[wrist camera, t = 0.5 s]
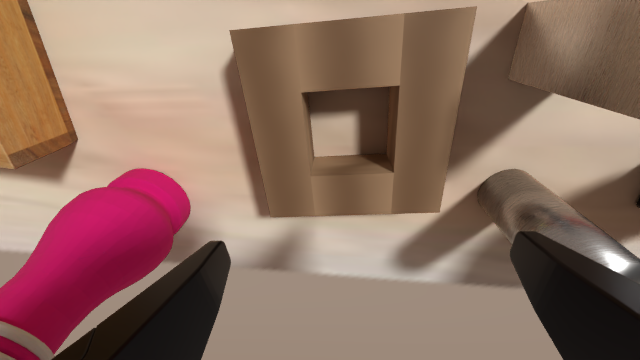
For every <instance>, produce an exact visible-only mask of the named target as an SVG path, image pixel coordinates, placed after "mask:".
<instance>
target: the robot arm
mask: <svg viewBox="0 0 640 360" xmlns="http://www.w3.org/2000/svg"><path fill="white" fill-rule="evenodd" d="M636 205H637V207H639V208H640V199H639V200H638V202H637V204H636ZM510 258H511V261H512V263H513V265H514V267H515V270H516V272H517V274H518V276H519V278H520V280H521V283H522V285H523V287H524V289H525V291H526V294H527V296H528V298H529V300H530V302H531V304H532V306H533V308H534V310H535V312H536V314H537V315H538V317H539V319H540V321H541V322H542V324H543V326H544V328H545V329H546V331H547V333H548V334H549V336H550V338H551V339H552V341H553V343H554V345H555V346H556V348H557V350H558V351H559V353H560V355H561V356H562V358H563V360H640V284H639V283H637V282H636V281H634V280H632V279H630V278H628V277H626V276H624V275H622V274H620V273H618V272H616V271H614V270H612V269H610V268H608V267H606V266H604V265H602V264H600V263H598V262H596V261H594V260H592V259H590V258H588V257H586V256H584V255H582V254H580V253H578V252H576V251H574V250H572V249H570V248H568V247H566V246H564V245H562V244H560V243H558V242H556V241H554V240H553V239H551V238H549V237H547V236H545V235H543V234H541V233H539V232H537V231H532V230H531V231H519V232H517V233H516V235H515V238H514V241H513V244H512V247H511V249H510ZM230 264H231V260H230V256H229V253H228V251H227V248H226V246H225V243H224V242H223V241H210V242H208V243H207V244H206V245H204V246H203V247H202V248H200V249H199V250H198V251H196V252H195V253H194V254H192V255H191V256H190V257H188V258H187V259H186V260H184V261H183V262H182V263H180V264H179V265H178V266H176V267H175V268H173V269H172V270H171V271H170V272H168V273H167V274H166V275H164V276H163V277H161V278H160V279H159V280H158V281H156V282H155V283H154V284H152V285H151V286H150V287H148V288H147V289H145V290H144V291H143V292H141V293H140V294H139V295H137V296H136V297H135V298H134V299H132V300H131V301H129V302H128V303H127V304H125V305H124V306H123V307H122V308H120V309H119V310H117V311H116V312H115V313H113V314H112V315H111V316H109V317H108V318H107V319H105V320H104V321H103V322H101V323H100V324H99V325H97V327H96V328H93V329H92V330H91V331H89V332H88V333H86V334H85V335H84V336H82V337H81V338H80V339H79V340H77V341H76V342H74V343H73V344H72V345H70V346H69V347H67V348H66V349H65V350H63V351H62V352H61V353H60V354H58V355H56V356H55V357H54V358H52V359H51V360H201V358H202V355H203V353H204V350H205V347H206V344H207V341H208V339H209V336H210V333H211V331H212V328H213V325H214V322H215V320H216V317H217V314H218V311H219V308H220V304H221V300H222V296H223V293H224V288H225V285H226V281H227V277H228V273H229V269H230Z"/></svg>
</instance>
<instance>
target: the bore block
mask: <svg viewBox="0 0 640 360" xmlns="http://www.w3.org/2000/svg"><path fill="white" fill-rule="evenodd" d="M476 9H477V6H476V7H466V8H456V9H446V10H435V11H425V12H415V13H404V14H394V15H384V16H373V17H363V18H353V19H343V20H332V21H322V22H312V23H301V24H291V25H281V26H270V27H260V28H250V29H240V30H229V31H230V35H231V40H232V44H233V49H234V53H235V58H236V62H237V67H238V71H239V76H240V80H241V85H242V89H243V94H244V98H245V103H246V107H247V112H248V116H249V121H250V125H251V130H252V135H253V139H254V144H255V148H256V153H257V157H258V162H259V166H260V171H261V175H262V180H263V184H264V189H265V193H266V198H267V202H268V207H269V211H270V216H271V217H298V216H333V215H367V214H402V213H437V212H440V207H441V201H442V196H443V190H444V185H445V179H446V174H447V168H448V163H449V157H450V152H451V146H452V141H453V135H454V130H455V124H456V119H457V113H458V108H459V102H460V97H461V91H462V86H463V80H464V75H465V70H466V64H467V59H468V53H469V48H470V42H471V37H472V31H473V26H474V20H475V15H476ZM385 86H390V90H389V110H388V131H387V151H386V154H367V155H347V156H327V157H314V150H313V140H312V130H311V120H310V111H309V101H308V92H316V91H330V90H344V89H358V88H371V87H385Z"/></svg>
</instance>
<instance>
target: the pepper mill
mask: <svg viewBox="0 0 640 360" xmlns="http://www.w3.org/2000/svg"><path fill="white" fill-rule="evenodd" d="M189 214H190V202H189V199H188V197H187V195H186V193H185V192H184V190H183V189H182V188H181V186H180V185H179V184H177V183H176V182H175V181H174V180H173V179H172V178H170V177H168V176H166V175H165V174H163V173H160V172H158V171H155V170H150V169H133V170H130V171H128V172H126V173H124V174H123V175H121V176H120V177H118V178H117V179H115V180H114V181H112V182H111V183H110V184H109V185H108V186H107V187H102V188H95V189H92V190H89V191H86V192H84V193H81V194H79V195H78V196H77V197H76V198H74V199H73V200H72V201H70V202H69V203H68V204H67V205H65V206H64V207H63V208H62V209H61V210H60V211H59V213H58V214H57V215H56V216H55V217H54V219H53V220H52V221H51V222H50V224H49V225H48V227H47V229H46V230H45V232H44V234H43V236H42V238H41V239H40V241H39V243H38V245H37V246H36V248H35V250H34V251H33V253H32V254H31V256H30V258H29V259H28V261H27V262H26V264H25V265H24V266H23V267H22V268H21V269H20V270H19V272H18V273H17V274H16V275H15V276H14V277H13V278H12V279H11V280H9V281H8V282H7V283H6V284H5V285H4V286H2V287H1V288H0V360H51V359H52V358H54V357H55V356H54V354H55V352H56V351H57V350H58V349H59V347H60V346H61V345H62V343H63V342H64V341H65V339H66V338H67V337H68V336H69V334H70V333H71V332H72V330H73V329H74V328H75V327H76V326H77V325H78V324H79V323H80V322H81V321H82V320H83V319H84V318H85V317H86V316H87V315H88V314H89V313H90V312H91V311H92V310H94V309H95V308H96V307H97V306H98V305H100V304H101V303H102V302H103V301H105V300H106V299H108V298H109V297H111V296H112V295H114V294H115V293H117V292H119V291H121V290H123V289H125V288H127V287H128V286H130V285H132V284H134V283H135V282H137V281H139V280H140V279H142V278H143V277H145V276H146V275H147V274H149V273H150V272H151V271H153V270H154V269H155V268H156V267H157V266H158V265H159V264H160V263H161V262H162V261H163V260H164V259H165V258H166V256H167V255H168V253H169V252H170V250H171V248H172V244H173V235H174V234H175V233H177V232H178V230H179V229H180V228H181V227H182V225H183V224H184V223H185V222H186V220H187V219H188V217H189Z"/></svg>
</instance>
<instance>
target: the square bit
mask: <svg viewBox="0 0 640 360" xmlns="http://www.w3.org/2000/svg"><path fill="white" fill-rule="evenodd" d="M508 79H509V80H512V81H515V82H519V83H522V84H525V85H528V86H532V87H535V88H538V89H542V90H545V91H548V92H551V93H555V94H558V95H561V96H565V97H568V98H571V99H575V100H578V101H581V102H584V103H588V104H591V105H594V106H598V107H601V108H604V109H607V110H611V111H614V112H617V113H621V114H624V115H627V116H630V117H634V118H637V119H640V0H546V1H538V2H531V3H528V4H527V7H526V11H525V15H524V19H523V23H522V27H521V30H520V34H519V38H518V42H517V46H516V50H515V53H514V57H513V61H512V65H511V69H510V72H509V76H508Z"/></svg>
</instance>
